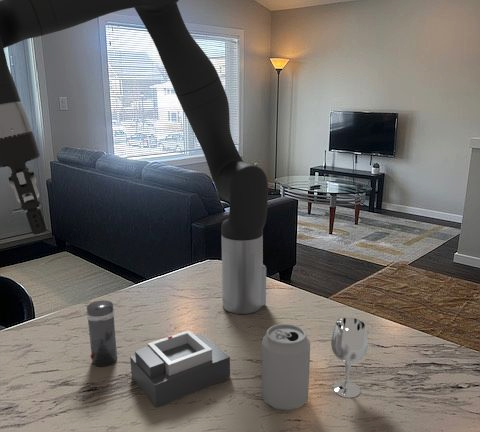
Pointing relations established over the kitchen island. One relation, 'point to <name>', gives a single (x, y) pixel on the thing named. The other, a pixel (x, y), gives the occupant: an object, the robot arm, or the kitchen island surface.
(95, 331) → the thermos
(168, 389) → the tray on grey base
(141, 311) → the kitchen island surface
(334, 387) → the wineglass
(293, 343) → the can
